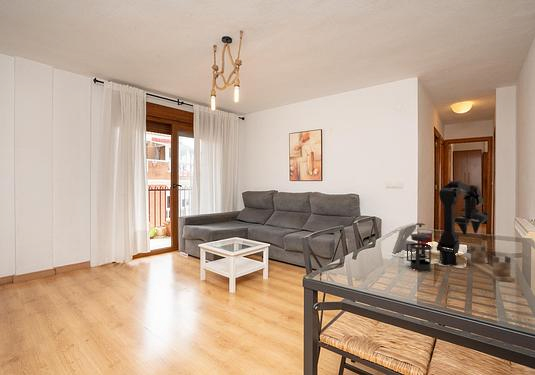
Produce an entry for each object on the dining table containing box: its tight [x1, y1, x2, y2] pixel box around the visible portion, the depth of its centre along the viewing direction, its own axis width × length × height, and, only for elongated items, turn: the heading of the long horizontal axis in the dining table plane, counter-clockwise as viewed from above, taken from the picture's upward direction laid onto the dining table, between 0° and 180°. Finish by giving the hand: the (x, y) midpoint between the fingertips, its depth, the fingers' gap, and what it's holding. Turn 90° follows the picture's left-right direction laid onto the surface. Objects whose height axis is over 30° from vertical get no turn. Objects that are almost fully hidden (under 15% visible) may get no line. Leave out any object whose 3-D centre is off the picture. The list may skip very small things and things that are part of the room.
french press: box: [406, 222, 432, 272], centre depth 140 cm, size 12×9×23 cm
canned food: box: [417, 229, 433, 247], centre depth 176 cm, size 8×8×11 cm
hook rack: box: [467, 245, 516, 283], centre depth 132 cm, size 6×24×10 cm, turn 171°
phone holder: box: [391, 222, 418, 254], centre depth 166 cm, size 17×10×18 cm, turn 128°
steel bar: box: [463, 252, 488, 264], centre depth 156 cm, size 2×22×3 cm, turn 19°
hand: (470, 233), depth 160 cm, fingers open, 9 cm apart
